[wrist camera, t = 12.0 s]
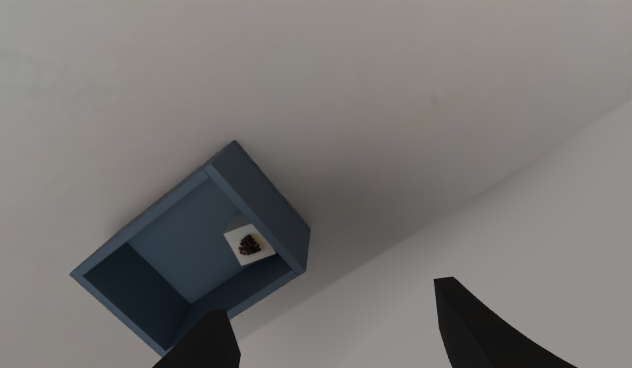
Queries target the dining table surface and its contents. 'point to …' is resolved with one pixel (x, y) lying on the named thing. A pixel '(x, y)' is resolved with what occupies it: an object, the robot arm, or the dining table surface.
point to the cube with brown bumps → (247, 240)
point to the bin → (196, 252)
